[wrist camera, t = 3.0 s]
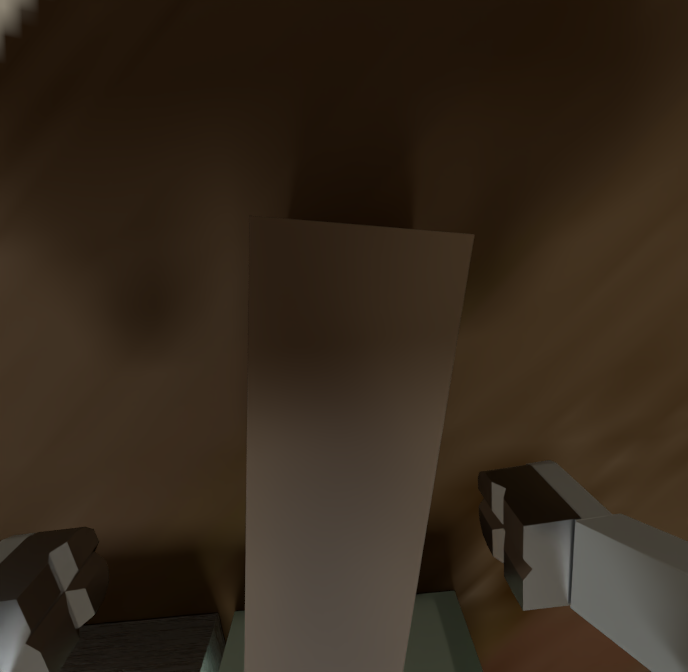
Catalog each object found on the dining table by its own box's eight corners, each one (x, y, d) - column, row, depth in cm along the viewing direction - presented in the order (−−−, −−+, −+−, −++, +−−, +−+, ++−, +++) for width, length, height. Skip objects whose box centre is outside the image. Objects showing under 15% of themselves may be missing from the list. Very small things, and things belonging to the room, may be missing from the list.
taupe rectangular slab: (411, 239, 10) (474, 234, 6) (376, 533, 12) (399, 691, 8) (286, 229, 10) (249, 215, 5) (275, 529, 12) (244, 688, 8)
